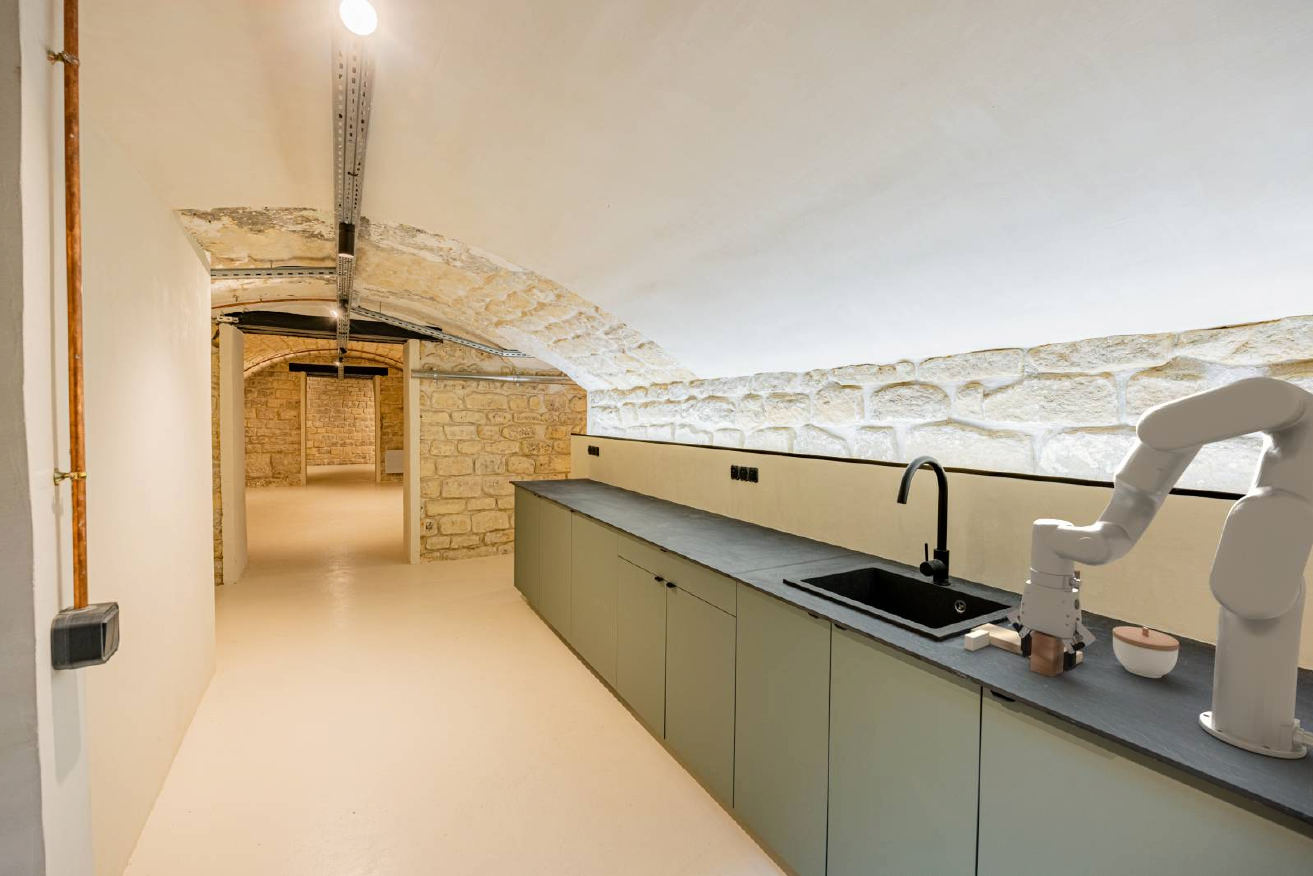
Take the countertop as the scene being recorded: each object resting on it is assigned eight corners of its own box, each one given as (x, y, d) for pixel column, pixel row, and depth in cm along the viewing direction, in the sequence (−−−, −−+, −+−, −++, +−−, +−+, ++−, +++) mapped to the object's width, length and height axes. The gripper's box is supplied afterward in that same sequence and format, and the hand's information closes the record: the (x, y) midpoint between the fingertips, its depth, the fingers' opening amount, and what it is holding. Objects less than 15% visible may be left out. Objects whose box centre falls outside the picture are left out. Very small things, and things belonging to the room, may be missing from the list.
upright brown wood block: (1081, 662, 125) (1083, 626, 125) (1051, 677, 118) (1053, 639, 117) (1060, 655, 129) (1062, 620, 128) (1030, 669, 121) (1032, 632, 121)
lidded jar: (1183, 674, 120) (1186, 630, 120) (1169, 688, 114) (1172, 642, 113) (1119, 656, 129) (1122, 615, 128) (1103, 668, 122) (1105, 625, 122)
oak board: (1082, 661, 126) (1082, 652, 126) (1065, 669, 121) (1066, 660, 121) (987, 631, 142) (988, 623, 142) (970, 637, 138) (970, 629, 138)
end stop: (988, 644, 134) (989, 632, 134) (972, 651, 130) (973, 638, 130) (980, 641, 136) (980, 629, 135) (964, 648, 132) (964, 635, 132)
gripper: (1108, 587, 115) (1103, 674, 115) (1015, 567, 129) (1011, 644, 130) (1093, 593, 110) (1088, 684, 111) (998, 571, 125) (994, 651, 126)
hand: (1047, 662), depth 121 cm, fingers open, 7 cm apart
